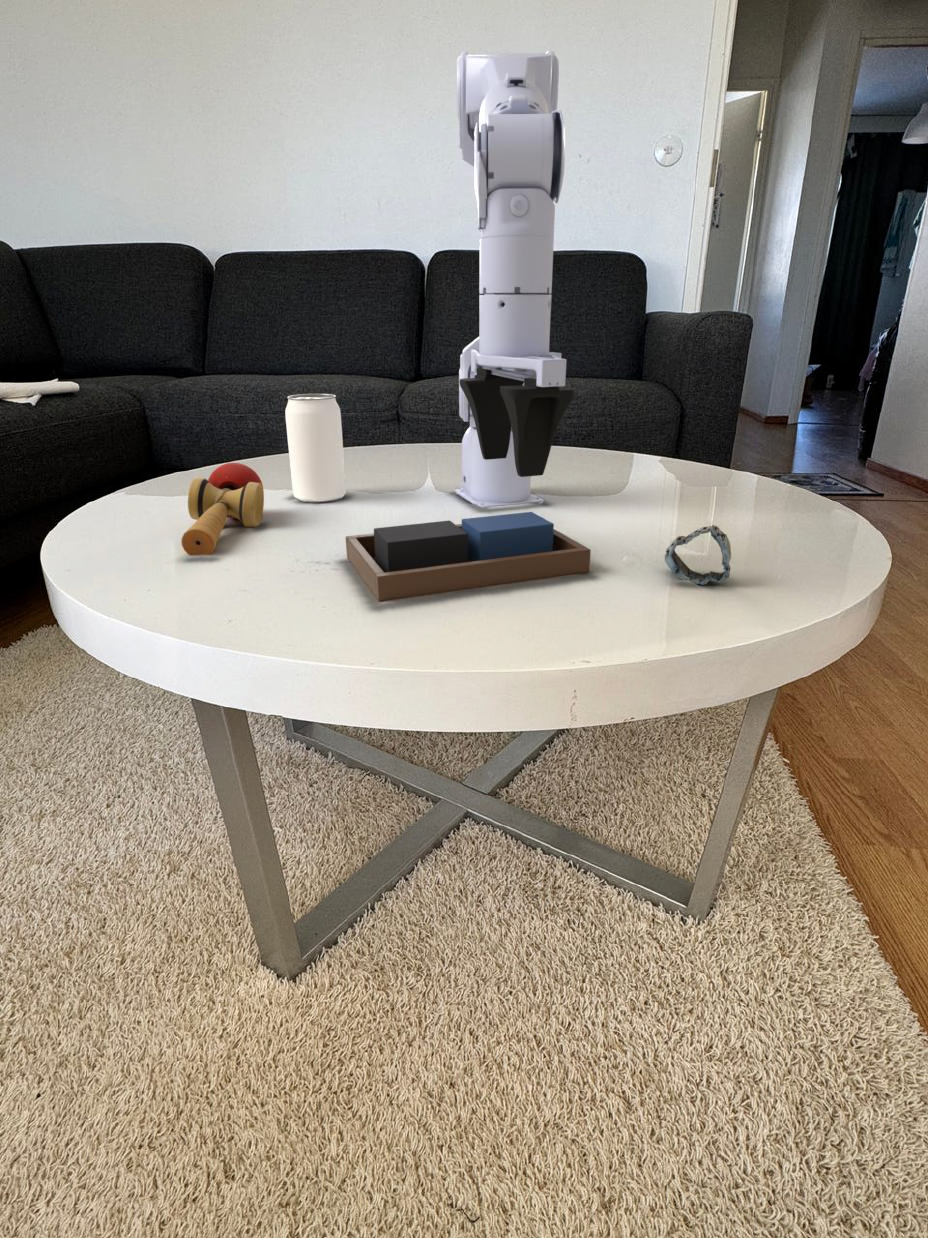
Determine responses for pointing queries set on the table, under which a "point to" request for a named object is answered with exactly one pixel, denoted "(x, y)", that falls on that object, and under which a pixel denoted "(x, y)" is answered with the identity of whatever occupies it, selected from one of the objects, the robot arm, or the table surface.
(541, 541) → the blue rectangular block
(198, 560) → the table surface
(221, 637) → the table surface
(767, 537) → the table surface
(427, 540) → the black rectangular block
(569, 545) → the tray
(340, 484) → the can
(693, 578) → the rough grey ring
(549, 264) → the robot arm
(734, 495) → the table surface
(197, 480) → the kendama
